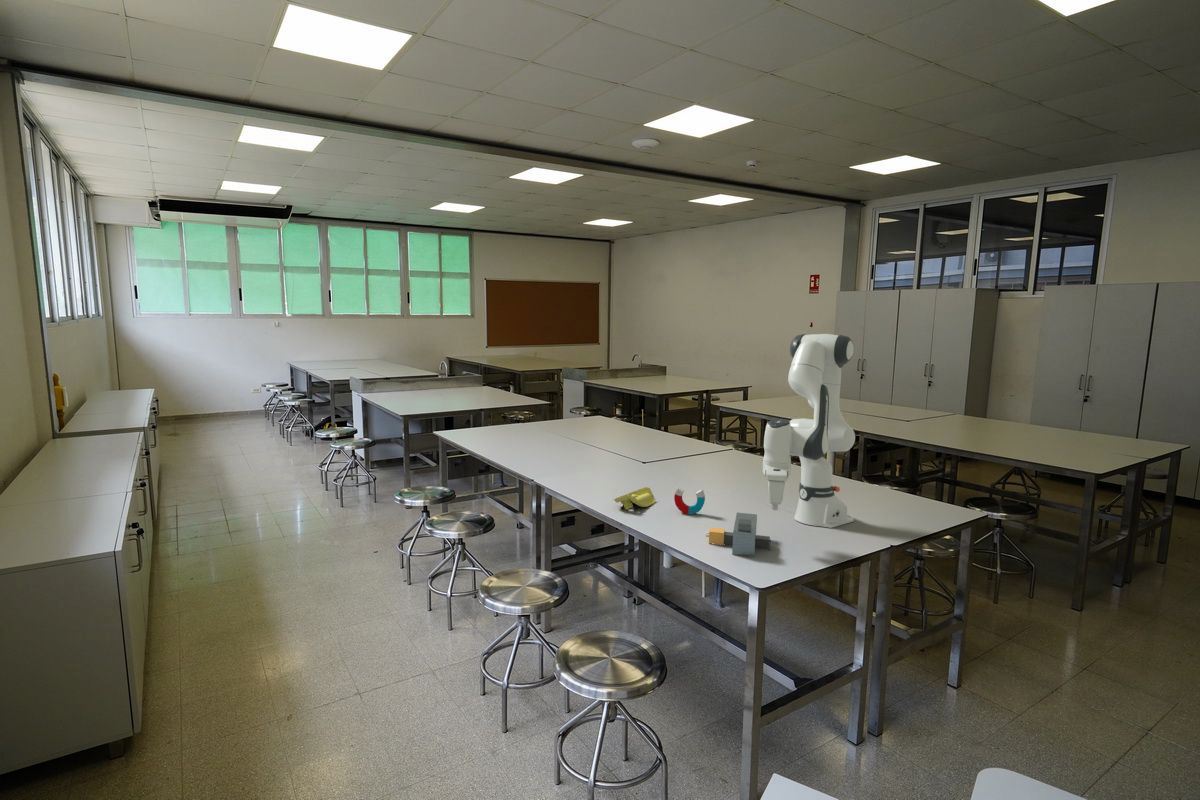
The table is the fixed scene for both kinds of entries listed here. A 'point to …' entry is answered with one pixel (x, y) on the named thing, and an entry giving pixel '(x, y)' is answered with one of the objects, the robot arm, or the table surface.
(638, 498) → the plastic component
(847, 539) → the table surface
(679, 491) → the magnet
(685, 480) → the table surface
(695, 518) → the table surface
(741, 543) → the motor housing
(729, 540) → the plug
